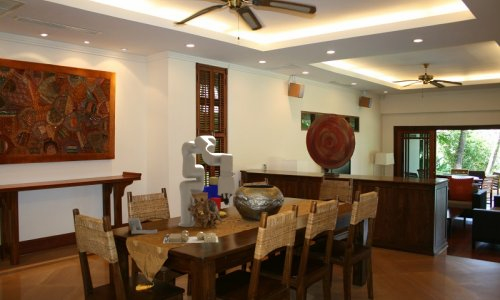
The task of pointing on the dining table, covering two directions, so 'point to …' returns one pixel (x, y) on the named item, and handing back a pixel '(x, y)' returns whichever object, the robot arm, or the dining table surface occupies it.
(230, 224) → the dining table surface
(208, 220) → the decorative coral sculpture
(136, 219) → the door handle
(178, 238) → the frame leaf
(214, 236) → the door leaf
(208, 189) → the figurine
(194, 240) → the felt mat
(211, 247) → the dining table surface
